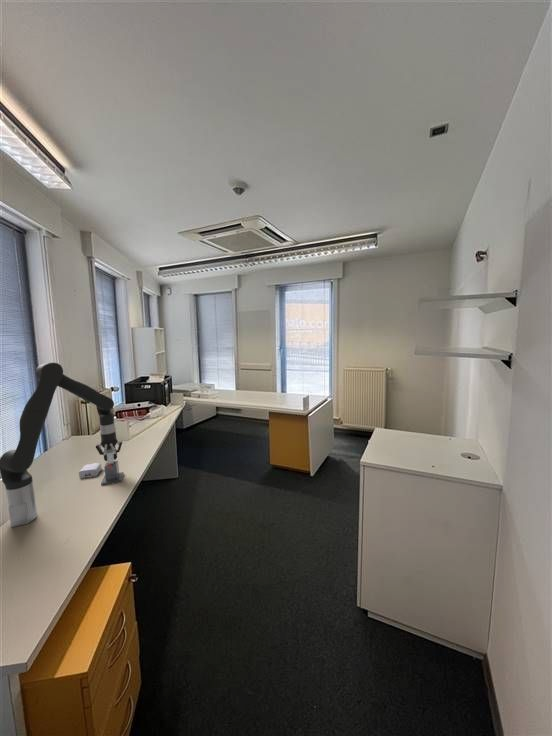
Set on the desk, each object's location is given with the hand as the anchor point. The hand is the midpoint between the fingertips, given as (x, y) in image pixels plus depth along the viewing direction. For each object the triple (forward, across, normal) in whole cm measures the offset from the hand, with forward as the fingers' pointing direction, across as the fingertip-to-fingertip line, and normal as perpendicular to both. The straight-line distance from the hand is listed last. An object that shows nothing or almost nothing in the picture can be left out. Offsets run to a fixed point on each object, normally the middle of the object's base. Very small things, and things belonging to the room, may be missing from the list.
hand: (111, 459), depth 166 cm
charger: (+13, -14, +17) cm, 26 cm away
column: (+10, 0, 0) cm, 10 cm away
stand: (+12, 0, 0) cm, 12 cm away
